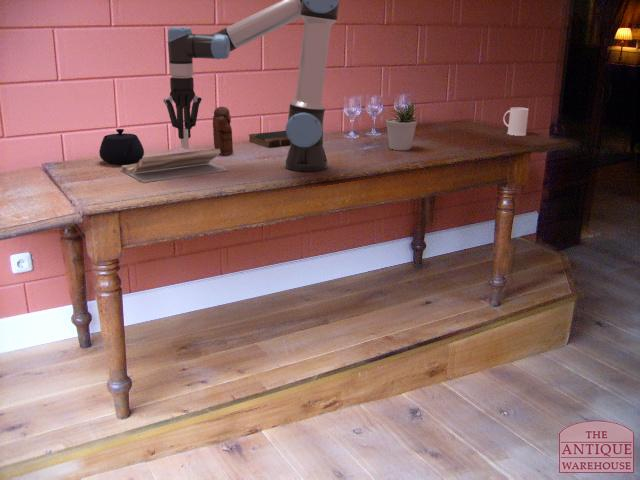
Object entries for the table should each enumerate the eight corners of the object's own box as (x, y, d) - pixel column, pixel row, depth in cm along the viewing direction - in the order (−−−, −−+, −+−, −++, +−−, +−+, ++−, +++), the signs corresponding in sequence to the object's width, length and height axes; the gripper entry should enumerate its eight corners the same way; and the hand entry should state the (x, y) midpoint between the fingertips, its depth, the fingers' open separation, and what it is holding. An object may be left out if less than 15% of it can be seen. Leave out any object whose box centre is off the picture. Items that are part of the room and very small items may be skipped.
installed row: (209, 163, 240) (209, 159, 239) (129, 173, 223) (129, 169, 222) (200, 159, 245) (200, 155, 244) (122, 169, 228) (121, 165, 227)
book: (296, 137, 296) (248, 142, 283) (296, 129, 295) (247, 134, 282) (318, 143, 283) (269, 149, 269) (319, 135, 282) (268, 140, 268)
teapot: (92, 158, 246) (88, 126, 242) (132, 154, 254) (130, 122, 250) (112, 172, 226) (109, 136, 222) (156, 167, 234) (154, 132, 230)
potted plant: (402, 153, 263) (405, 102, 256) (378, 148, 273) (380, 99, 266) (423, 149, 270) (427, 100, 264) (399, 144, 280) (402, 96, 274)
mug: (497, 133, 311) (500, 107, 307) (508, 131, 316) (510, 105, 312) (519, 136, 302) (522, 110, 298) (529, 134, 308) (532, 108, 304)
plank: (220, 152, 229) (219, 148, 229) (143, 162, 213) (142, 157, 213) (208, 163, 238) (207, 159, 238) (133, 172, 222) (132, 168, 222)
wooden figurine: (236, 155, 255) (234, 108, 249) (220, 156, 253) (218, 109, 247) (227, 149, 265) (225, 104, 259) (211, 150, 263) (209, 105, 257)
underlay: (228, 170, 230) (228, 169, 230) (143, 183, 213) (143, 181, 212) (201, 160, 245) (201, 159, 245) (120, 171, 228) (120, 169, 228)
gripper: (194, 74, 222) (197, 144, 230) (158, 76, 215) (162, 148, 222) (204, 76, 216) (207, 148, 224) (167, 78, 209) (171, 152, 217)
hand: (185, 148), depth 223 cm, fingers closed
